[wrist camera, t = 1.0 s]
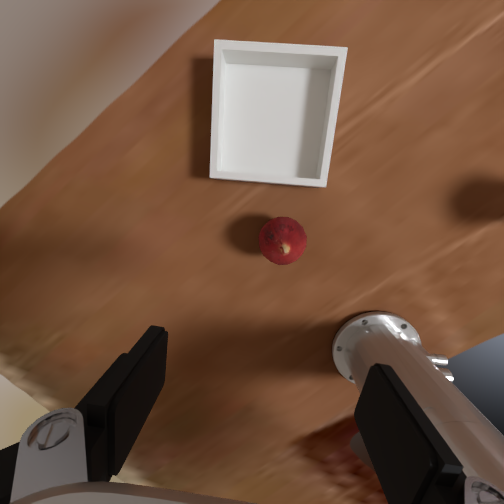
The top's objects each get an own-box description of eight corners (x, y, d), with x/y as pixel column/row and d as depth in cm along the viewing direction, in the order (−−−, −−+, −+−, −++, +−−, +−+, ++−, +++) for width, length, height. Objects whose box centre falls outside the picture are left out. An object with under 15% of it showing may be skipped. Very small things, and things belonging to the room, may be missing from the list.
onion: (250, 236, 32) (245, 249, 25) (279, 205, 31) (284, 209, 23) (280, 263, 33) (285, 285, 25) (310, 234, 32) (324, 248, 24)
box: (337, 65, 27) (347, 47, 23) (319, 187, 30) (325, 187, 27) (220, 58, 27) (214, 39, 24) (215, 179, 31) (209, 177, 27)
